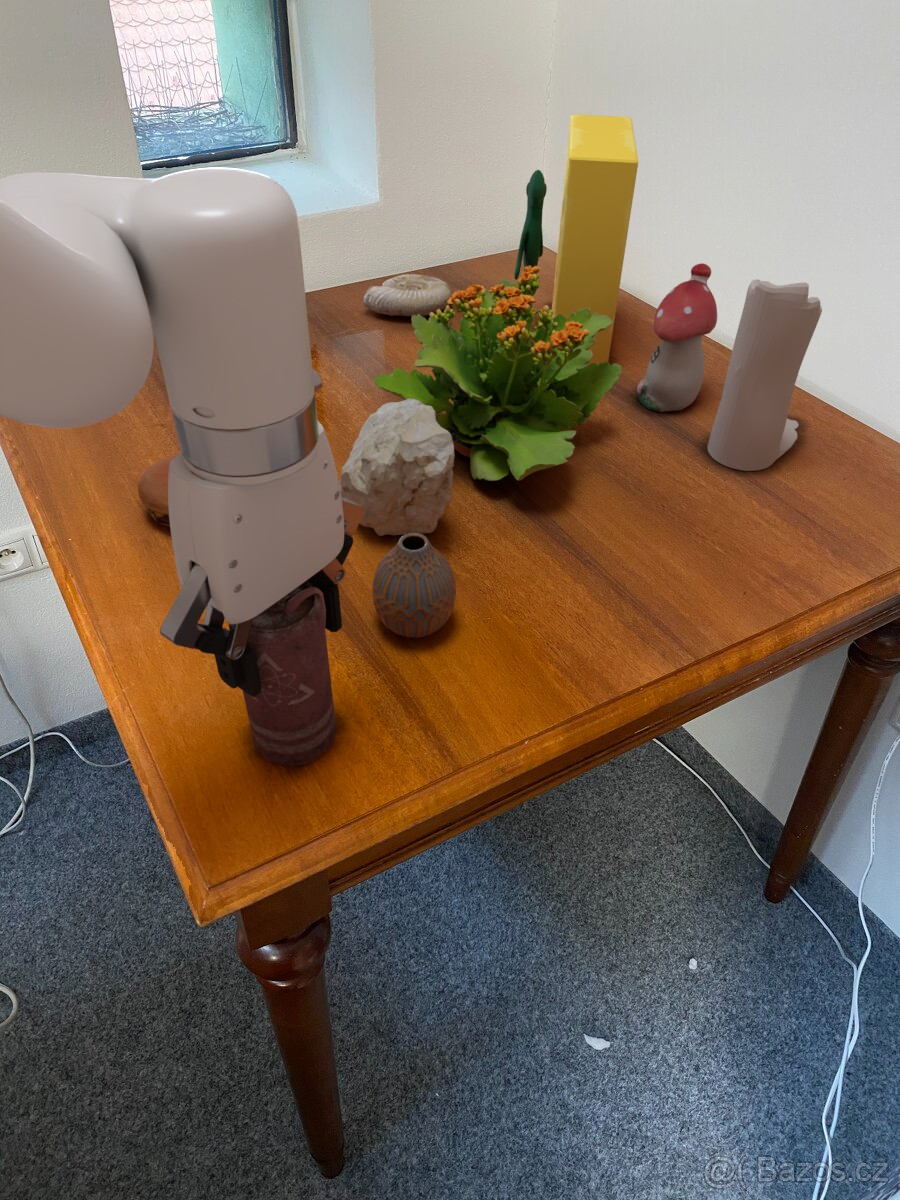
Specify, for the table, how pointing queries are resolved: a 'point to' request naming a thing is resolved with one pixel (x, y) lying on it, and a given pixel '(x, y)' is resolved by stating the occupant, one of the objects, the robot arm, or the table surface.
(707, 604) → the table surface
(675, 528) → the table surface
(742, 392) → the candle
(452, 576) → the vase
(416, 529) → the stone
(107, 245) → the robot arm
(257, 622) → the can
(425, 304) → the fossil
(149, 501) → the burger
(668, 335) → the decorative ornament
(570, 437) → the potted flower
